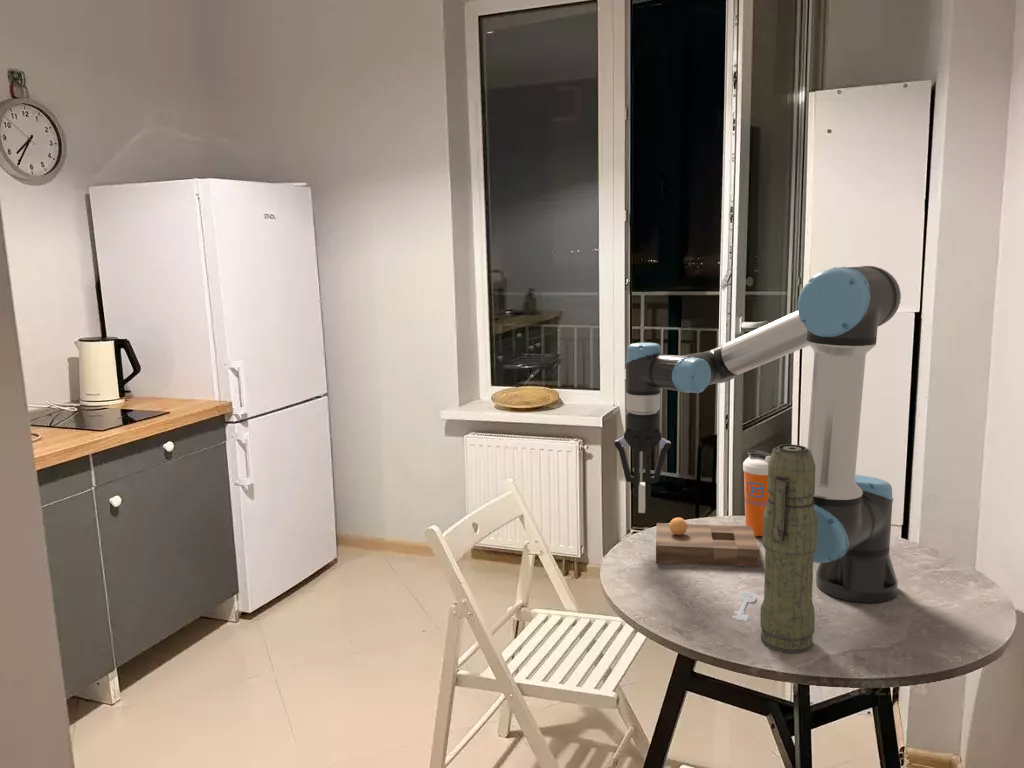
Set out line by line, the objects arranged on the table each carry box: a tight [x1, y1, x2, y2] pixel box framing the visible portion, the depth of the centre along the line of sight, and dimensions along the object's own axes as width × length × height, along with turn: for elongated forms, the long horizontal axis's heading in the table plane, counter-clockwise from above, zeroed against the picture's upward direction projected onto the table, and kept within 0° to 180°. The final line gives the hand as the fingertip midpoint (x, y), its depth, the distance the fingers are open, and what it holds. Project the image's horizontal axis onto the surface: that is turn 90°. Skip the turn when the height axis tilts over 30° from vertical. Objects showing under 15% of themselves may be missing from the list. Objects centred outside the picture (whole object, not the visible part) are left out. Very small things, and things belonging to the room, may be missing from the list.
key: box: [731, 591, 757, 622], centre depth 152 cm, size 12×1×3 cm
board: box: [655, 522, 760, 568], centre depth 180 cm, size 15×22×4 cm
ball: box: [669, 517, 688, 535], centre depth 180 cm, size 4×4×4 cm
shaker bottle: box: [742, 449, 772, 538], centre depth 191 cm, size 9×9×20 cm
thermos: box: [759, 444, 818, 654], centre depth 135 cm, size 9×12×35 cm
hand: (641, 510), depth 182 cm, fingers closed
